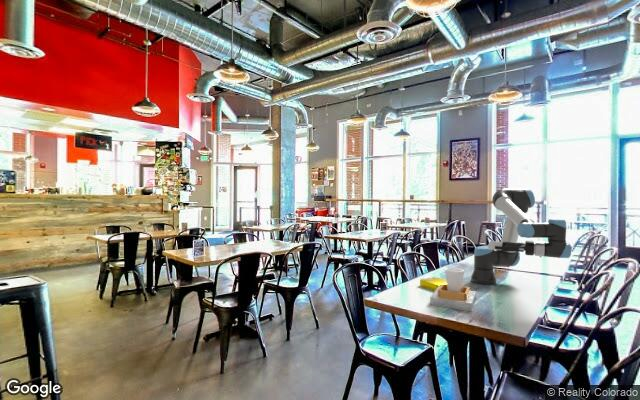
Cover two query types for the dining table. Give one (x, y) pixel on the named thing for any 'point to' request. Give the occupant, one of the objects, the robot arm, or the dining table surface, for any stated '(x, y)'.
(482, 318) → the dining table surface
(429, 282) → the element tile
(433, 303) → the wooden box on base
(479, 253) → the robot arm
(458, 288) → the foam cup
